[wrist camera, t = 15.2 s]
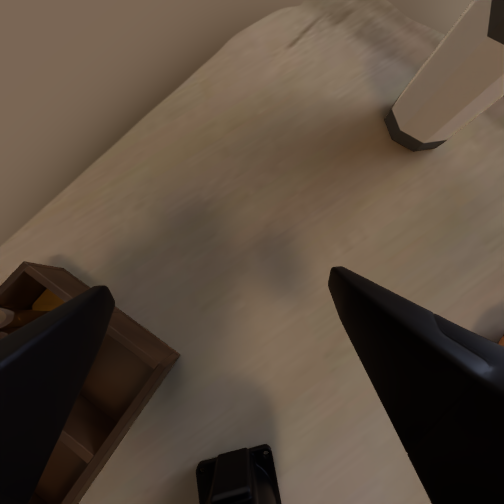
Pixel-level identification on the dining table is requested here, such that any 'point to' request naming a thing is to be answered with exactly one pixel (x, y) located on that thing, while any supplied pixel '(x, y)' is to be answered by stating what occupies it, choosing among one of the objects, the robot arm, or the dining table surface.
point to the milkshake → (19, 315)
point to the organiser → (92, 385)
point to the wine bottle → (453, 80)
